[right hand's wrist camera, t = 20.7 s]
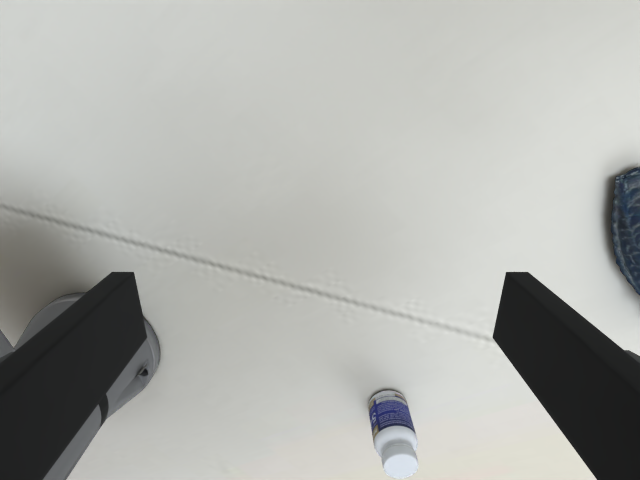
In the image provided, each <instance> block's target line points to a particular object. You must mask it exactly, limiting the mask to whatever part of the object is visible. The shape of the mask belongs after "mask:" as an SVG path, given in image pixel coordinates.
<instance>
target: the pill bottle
mask: <svg viewBox="0 0 640 480" xmlns="http://www.w3.org/2000/svg"><path fill="white" fill-rule="evenodd" d="M368 409H369V416H370V422H371V428H372V435H373V442H374V447H375V450H376V452H377V454H378V455H379V456H380V457H381V458H382V464H383V468H384V471H385V473H386V474H387V475H389V476H390V477H393V478H406V477H409V476H411V475H413V474H414V473H415V472H416V471H417V469H418V460H417V456H416V453H415V452H416V449H417V446H418V440H417V436H416V433H415V430H414V426H413V423H412V419H411V416H410V412H409V408H408V405H407V401H406V399H405V398H404V396H403V395H401V394H400V393H398V392H396V391H389V390H388V391H382V392H379V393H377V394H375V395H374V396H373V397H372V398H371V400H370V401H369V405H368Z"/></svg>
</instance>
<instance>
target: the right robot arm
mask: <svg viewBox="0 0 640 480" xmlns="http://www.w3.org/2000/svg"><path fill="white" fill-rule="evenodd" d="M493 339H494V340H495V341H496V343H497V344H498V345H499V347H500V348H501V350H502V351H503V352H504V354H505V355H506V356H507V358H508V359H509V360H510V362H511V363H512V364H513V366H514V367H515V369H516V370H517V371H518V373H519V374H520V375H521V377H522V378H523V379H524V381H525V382H526V384H527V385H528V386H529V388H530V389H531V390H532V392H533V393H534V394H535V396H536V397H537V398H538V400H539V401H540V403H541V404H542V405H543V407H544V408H545V409H546V411H547V412H548V413H549V415H550V416H551V418H552V419H553V420H554V422H555V423H556V424H557V426H558V427H559V428H560V430H561V431H562V432H563V434H564V435H565V437H566V438H567V439H568V441H569V442H570V443H571V445H572V446H573V447H574V449H575V450H576V452H577V453H578V454H579V456H580V457H581V458H582V460H583V461H584V462H585V464H586V465H587V467H588V468H589V469H590V471H591V472H592V473H593V475H594V476H595V477H596V479H597V480H640V356H638V355H637V354H635V353H633V352H631V351H629V350H623V349H622V348H620V347H619V346H618V345H617V344H616V343H614V342H613V341H612V340H611V339H609V338H608V337H607V336H606V335H604V334H603V333H602V332H601V331H600V330H598V329H597V328H596V327H595V326H593V325H592V324H591V323H590V322H589V321H587V320H586V319H585V318H584V317H582V316H581V315H580V314H579V313H578V312H576V311H575V310H574V309H573V308H571V307H570V306H569V305H568V304H566V303H565V302H564V301H563V300H562V299H560V298H559V297H558V296H557V295H555V294H554V293H553V292H552V291H551V290H549V289H548V288H547V287H546V286H544V285H543V284H542V283H541V282H539V281H538V280H537V279H536V278H535V277H533V276H532V275H531V274H530V273H528V272H506V276H505V280H504V285H503V290H502V295H501V300H500V304H499V309H498V314H497V319H496V324H495V328H494V333H493ZM159 360H160V348H159V343H158V340H157V337H156V335H155V333H154V331H153V329H152V328H151V326H150V325H149V324H148V322H147V321H146V320H145V319H144V318H143V314H142V309H141V304H140V300H139V295H138V290H137V285H136V280H135V276H134V272H112V273H110V274H109V275H108V276H107V277H105V278H104V279H103V280H102V281H101V282H99V283H98V284H97V285H96V286H94V287H93V288H92V289H91V290H89V291H88V292H87V293H75V294H70V295H66V296H63V297H60V298H58V299H56V300H54V301H53V302H51V303H50V304H48V305H47V306H46V307H44V308H43V309H42V310H40V311H39V312H38V313H37V314H36V315H35V316H34V317H33V318H32V320H31V321H30V323H29V324H28V326H27V328H26V329H25V331H24V333H23V334H22V336H21V337H20V339H19V341H18V342H17V344H16V346H15V347H14V348H13V347H12V345H11V344H10V342H9V341H8V340H7V338H6V337H5V335H4V334H3V333H2V331H1V330H0V480H66V479H67V477H68V476H69V474H70V473H71V471H72V470H73V468H74V467H75V465H76V464H77V462H78V461H79V459H80V458H81V456H82V455H83V453H84V452H85V450H86V449H87V447H88V446H89V444H90V443H91V441H92V439H93V438H94V436H95V435H96V433H97V432H98V430H99V429H100V427H101V426H102V424H103V423H104V422H105V420H106V419H107V418H108V417H109V416H111V415H112V414H113V413H114V412H116V411H117V410H118V409H119V408H121V407H122V406H123V405H124V404H126V403H127V402H128V401H130V400H131V399H132V398H133V397H135V396H136V395H137V394H138V393H140V392H141V391H142V390H143V389H144V388H145V387H146V386H147V384H148V383H149V381H150V380H151V378H152V376H153V375H154V373H155V371H156V369H157V367H158V364H159Z"/></svg>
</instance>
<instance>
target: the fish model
mask: <svg viewBox="0 0 640 480" xmlns="http://www.w3.org/2000/svg"><path fill="white" fill-rule="evenodd" d="M615 186H616V188H615V191H614V194H615V197H614V199H613V210H612V217H611V220H612V223H611V232H612V234H613V238H612V241H613V243H614V252H615V255H616V256H617V258H616V263H617V264H618V265H619V266H620V270H621V272H622V273H623V274H624V275H625V276H626V277H627V281H628V282H629V283H630V284H631V285H632V286H633V287H634V289H635V290H636V292H637V293H638V294H639V295H640V167H638V168H634V169H632V170H630V171H628V172H627V173H626V174H624V175H621V176H617V177H616V180H615Z"/></svg>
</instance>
